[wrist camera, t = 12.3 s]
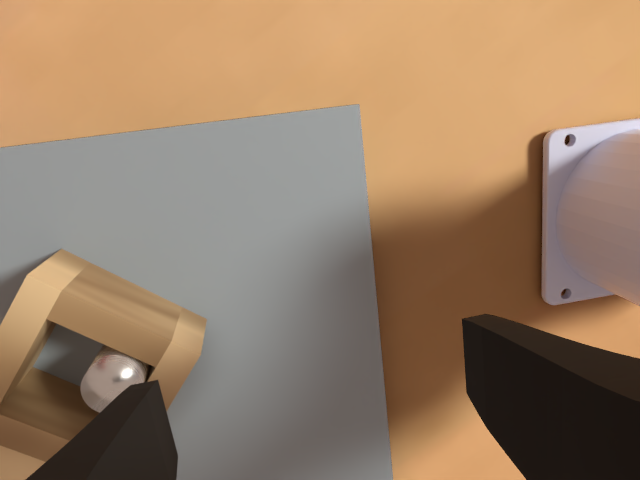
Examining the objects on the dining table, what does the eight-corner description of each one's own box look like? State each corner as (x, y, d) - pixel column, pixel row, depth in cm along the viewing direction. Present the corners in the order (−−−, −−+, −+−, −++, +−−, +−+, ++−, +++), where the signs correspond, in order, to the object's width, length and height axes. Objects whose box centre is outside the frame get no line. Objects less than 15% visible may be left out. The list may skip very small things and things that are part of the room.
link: (61, 248, 18) (27, 274, 15) (207, 319, 19) (200, 354, 17) (-101, 551, 20) (-159, 625, 17) (42, 593, 22) (11, 667, 19)
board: (353, 104, 19) (359, 104, 18) (392, 524, 25) (398, 540, 24) (-269, 180, 17) (-300, 184, 16) (-66, 629, 22) (-80, 652, 21)
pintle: (157, 305, 20) (134, 358, 16) (167, 346, 21) (146, 408, 16) (110, 313, 20) (73, 368, 16) (120, 354, 20) (88, 419, 16)
